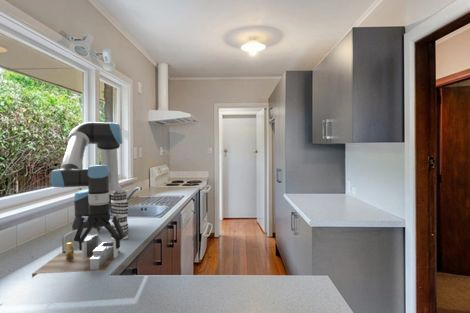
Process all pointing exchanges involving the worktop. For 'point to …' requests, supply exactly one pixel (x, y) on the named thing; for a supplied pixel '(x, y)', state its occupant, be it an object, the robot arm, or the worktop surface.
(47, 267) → the board
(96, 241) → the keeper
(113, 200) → the decorative candle
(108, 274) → the worktop surface
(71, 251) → the brass rounded cylinder
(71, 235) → the grey curved arch block
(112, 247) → the link
